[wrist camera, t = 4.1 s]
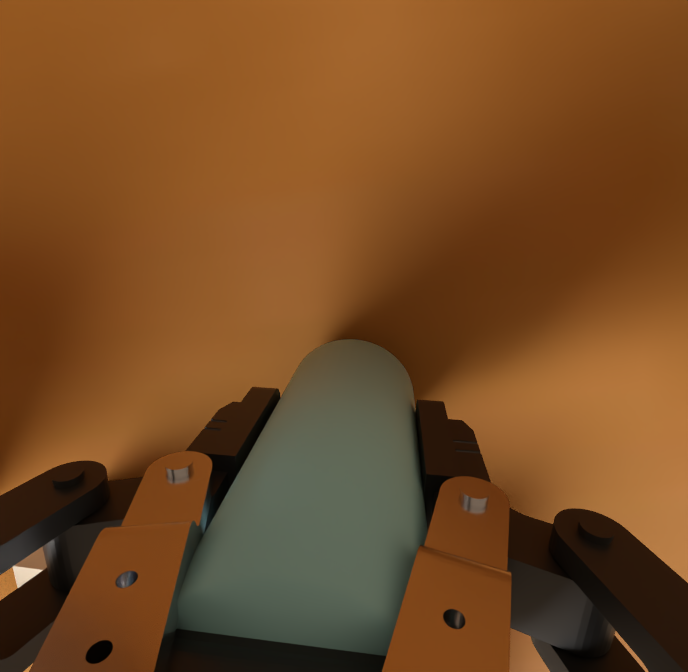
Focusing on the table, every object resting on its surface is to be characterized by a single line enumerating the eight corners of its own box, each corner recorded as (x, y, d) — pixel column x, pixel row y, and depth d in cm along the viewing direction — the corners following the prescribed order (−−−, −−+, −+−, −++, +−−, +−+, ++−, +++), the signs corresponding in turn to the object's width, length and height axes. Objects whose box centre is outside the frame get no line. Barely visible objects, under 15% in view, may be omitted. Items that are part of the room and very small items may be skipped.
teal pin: (290, 335, 14) (123, 560, 5) (419, 343, 13) (463, 600, 5) (291, 446, 15) (155, 775, 6) (408, 457, 15) (429, 820, 6)
